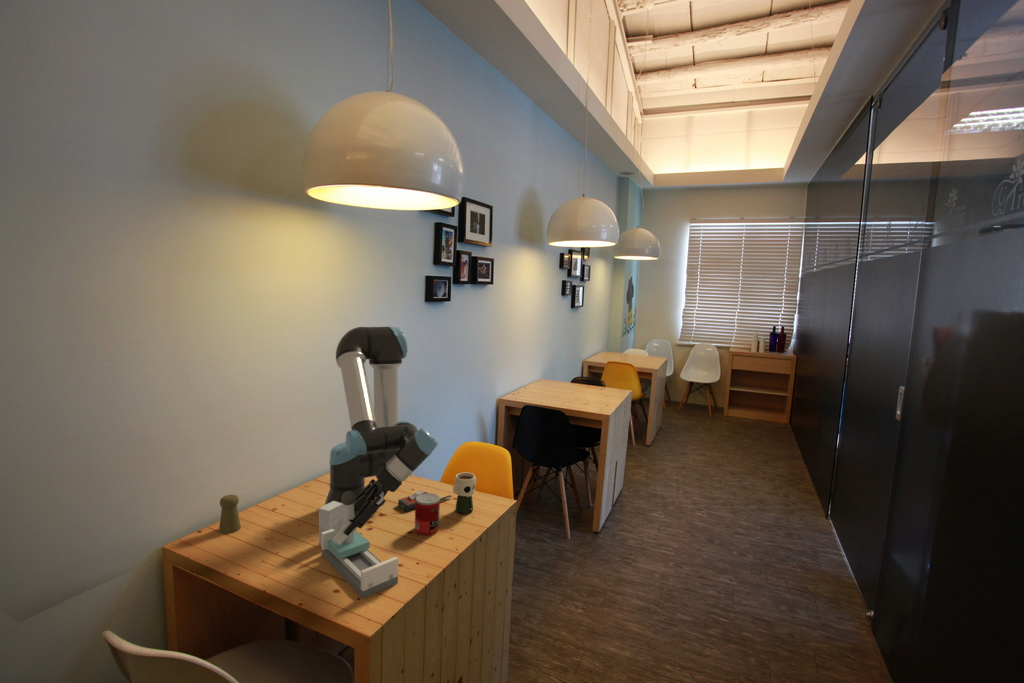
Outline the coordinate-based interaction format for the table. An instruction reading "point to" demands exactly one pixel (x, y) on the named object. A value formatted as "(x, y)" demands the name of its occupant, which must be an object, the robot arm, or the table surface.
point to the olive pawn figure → (229, 515)
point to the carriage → (355, 539)
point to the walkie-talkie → (413, 501)
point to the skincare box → (329, 517)
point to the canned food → (427, 513)
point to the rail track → (362, 568)
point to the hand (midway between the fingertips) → (335, 535)
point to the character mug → (464, 491)
